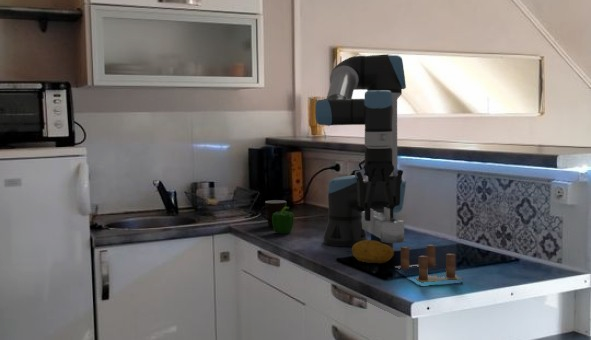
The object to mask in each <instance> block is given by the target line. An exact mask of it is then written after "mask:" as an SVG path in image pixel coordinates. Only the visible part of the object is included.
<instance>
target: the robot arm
mask: <svg viewBox="0 0 591 340" xmlns="http://www.w3.org/2000/svg"><path fill="white" fill-rule="evenodd" d="M403 62H404V61H403V58H402V56H401V55H399V54H390V53H387V54H373V55H372V54H368V55H367V54H366V55H354V56H353V55H352V56H351V57H348V58H346V59H343V60H342V61H341V62H339V63H337V64H336V66H335V67H333V69H332V71H331V73H330V76H329V84H330V86H329V89H328V93H327V95H326V98H323V99H317V100H316V102H315V108H314V109H315V110H314V111H315V112H314V114H315V122H316V124H317V125H319V126H327V127H330V126H357V125H358V126H362V125H363V126H364V146H365V147H366V148H365V149H364V165H363V168H362V169H360V170H356V171H354V175H344V176H338V177H335V178H332V179H330V180H329V181H328V186H327V187H328V190H327V194H328V195H327V196H328V200H327V201H328V221H327V225H326V228H325V232H324V234H323V243H324V244H326V245H329V246H333V247H353V245H354V244H355V243H358V242H360V241H363V240H368V235H367V231H366V230H364V229H362V211H365V220H366V221H368V233H369V232H370V234H371V233H374V229H373V217H374V211H377V212H379V213H382V214H384V215H386V216H389V217H391V218H393V219H394V214H398V213H401V211H402V210H403V208H404V201H405V194H406V193H405V192H406V187H407V186H406V184H407V180H406V179H405V178H403V174H404V171H403V170H401V169H398V99H399V97H401V96H402V94H403V93H402V91H403V90H404V89H406V88H407V84H406V77H405V69H404V63H403ZM355 90H357V91H359V90H360V91H361V90H363V91H365V92H364V98H353V95H354V91H355ZM365 175H366V176H367V179H364V177H365Z"/></svg>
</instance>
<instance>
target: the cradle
mask: <svg viewBox="0 0 591 340" xmlns="http://www.w3.org/2000/svg"><path fill="white" fill-rule="evenodd" d="M435 265H436V245H434V244H427V245H426V255H419V256H418V264H410V247H409V246H401V247H400V265H398V266H397V265H396V266H394V267H395V268H398V269H400V268H401V269H409V267H412V266H417V267H419V277H417V278H414V279H416V280H417V281H419V282H421V283H424V282H435V281H442V280H443V281H444V280H457V279H463V277H460V276H458V275H456V254H455V253H446V254H445V270H446V279H445V277H444V276H443V277H441V278H440V277H439V278H438V277H437V276H436V275H435V276H434V275H433V276H431V275H430V276H429V275H428V267H435Z"/></svg>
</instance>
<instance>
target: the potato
mask: <svg viewBox="0 0 591 340" xmlns="http://www.w3.org/2000/svg"><path fill="white" fill-rule="evenodd" d="M351 247H352V248H351V253H352V254H353V257H354V258H355V259H356V260H357V261H359V262H361V261H362V263H364V262H370V263H378V264H384V263H387V262H388V261H390V260H391V259H392V258H393V257H394V255H395V251H394V248H393V249H392V248H391V247H390V246H389V245H386V244H383V243H381V242H379V241H374V240H371V239H370V240H368V239H367V240H363V241H360V242H358V243H355V244H354V245H353V246H351Z"/></svg>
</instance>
